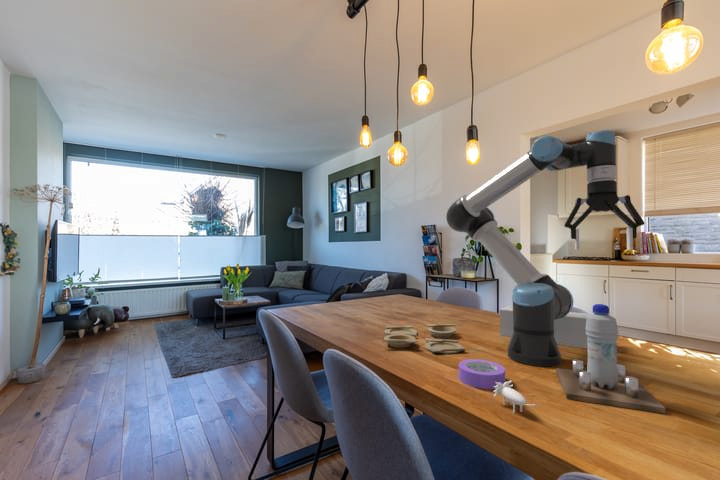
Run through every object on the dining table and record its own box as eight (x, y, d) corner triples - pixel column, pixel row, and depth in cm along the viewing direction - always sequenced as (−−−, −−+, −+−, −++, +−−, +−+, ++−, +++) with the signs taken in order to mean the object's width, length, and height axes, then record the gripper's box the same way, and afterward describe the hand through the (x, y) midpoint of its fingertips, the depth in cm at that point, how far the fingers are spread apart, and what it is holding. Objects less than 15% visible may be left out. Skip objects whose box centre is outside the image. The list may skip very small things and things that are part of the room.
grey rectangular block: (499, 336, 135) (499, 309, 135) (506, 331, 143) (506, 305, 144) (597, 350, 115) (596, 319, 116) (598, 343, 124) (597, 314, 124)
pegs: (580, 390, 80) (580, 373, 80) (571, 373, 90) (571, 359, 90) (640, 398, 75) (639, 380, 75) (623, 380, 86) (623, 364, 86)
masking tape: (512, 380, 90) (511, 365, 90) (494, 394, 81) (494, 378, 81) (470, 369, 98) (470, 356, 98) (450, 381, 89) (450, 366, 89)
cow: (488, 399, 78) (488, 378, 78) (508, 397, 79) (508, 377, 79) (524, 426, 66) (524, 402, 66) (547, 423, 67) (547, 399, 67)
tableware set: (385, 329, 148) (385, 319, 148) (454, 331, 144) (454, 321, 144) (378, 353, 113) (378, 341, 113) (468, 357, 109) (468, 345, 109)
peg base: (566, 398, 78) (566, 393, 78) (556, 372, 95) (556, 368, 95) (665, 413, 71) (665, 408, 71) (635, 382, 87) (635, 377, 88)
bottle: (579, 380, 86) (578, 302, 87) (604, 379, 86) (602, 301, 87) (600, 391, 79) (598, 306, 80) (626, 390, 80) (625, 306, 80)
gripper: (557, 182, 106) (558, 249, 106) (657, 175, 96) (658, 249, 96) (554, 186, 113) (555, 249, 113) (647, 180, 103) (648, 249, 103)
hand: (602, 249), depth 104 cm, fingers open, 13 cm apart
